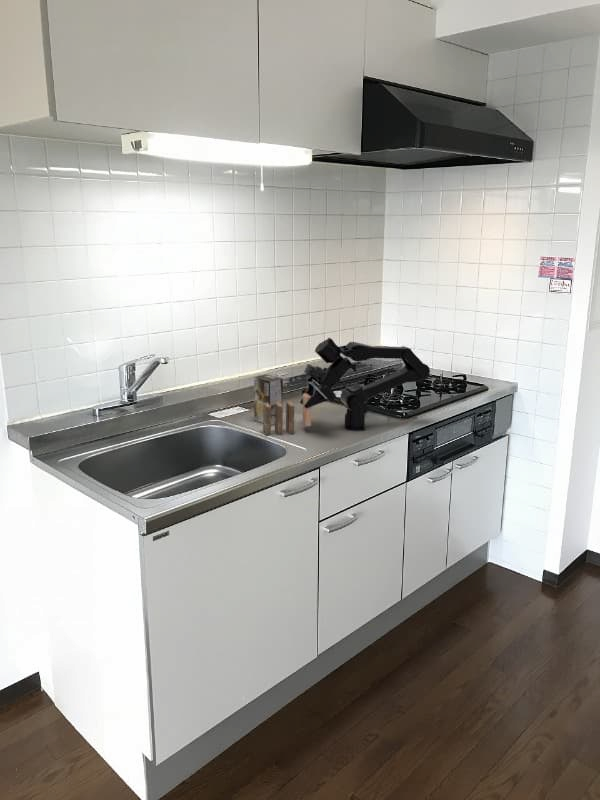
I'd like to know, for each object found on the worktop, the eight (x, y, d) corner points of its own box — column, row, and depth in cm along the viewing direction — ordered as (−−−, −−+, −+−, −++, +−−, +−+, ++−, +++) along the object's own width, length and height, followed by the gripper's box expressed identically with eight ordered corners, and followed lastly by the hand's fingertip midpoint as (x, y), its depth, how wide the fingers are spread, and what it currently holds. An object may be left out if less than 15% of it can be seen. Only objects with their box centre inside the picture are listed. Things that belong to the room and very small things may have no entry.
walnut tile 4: (267, 431, 224) (267, 402, 222) (270, 435, 220) (270, 406, 217) (263, 431, 224) (263, 403, 221) (266, 435, 219) (266, 406, 217)
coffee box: (283, 422, 234) (284, 378, 230) (270, 426, 230) (270, 381, 226) (266, 416, 241) (266, 373, 236) (253, 420, 236) (253, 376, 232)
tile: (306, 421, 227) (307, 393, 224) (310, 425, 222) (311, 397, 220) (302, 421, 227) (302, 393, 224) (306, 426, 222) (306, 397, 219)
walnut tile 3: (279, 430, 225) (279, 402, 223) (282, 434, 221) (282, 406, 218) (274, 430, 225) (274, 402, 222) (277, 435, 220) (278, 406, 218)
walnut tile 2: (290, 429, 226) (290, 401, 224) (294, 434, 222) (294, 405, 219) (285, 429, 226) (286, 401, 223) (289, 434, 221) (289, 405, 219)
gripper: (311, 350, 228) (280, 383, 228) (327, 361, 211) (293, 396, 211) (333, 372, 232) (302, 404, 232) (349, 384, 215) (316, 419, 215)
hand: (303, 405), depth 222 cm, fingers closed on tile, 5 cm apart
